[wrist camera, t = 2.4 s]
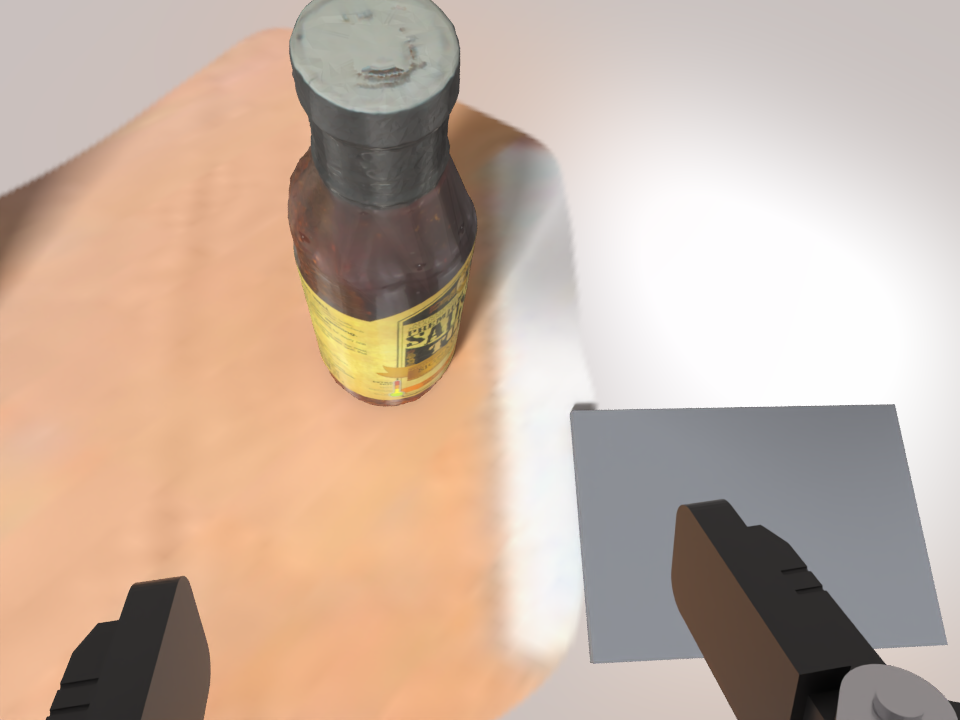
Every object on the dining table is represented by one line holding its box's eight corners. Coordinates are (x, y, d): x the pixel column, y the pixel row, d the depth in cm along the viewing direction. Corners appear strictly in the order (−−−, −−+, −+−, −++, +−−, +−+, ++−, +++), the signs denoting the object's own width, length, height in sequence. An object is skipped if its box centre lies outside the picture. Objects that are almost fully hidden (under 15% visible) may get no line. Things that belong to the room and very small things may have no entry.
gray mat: (590, 662, 32) (593, 663, 32) (569, 413, 36) (572, 410, 35) (938, 644, 34) (947, 644, 33) (887, 407, 37) (894, 404, 37)
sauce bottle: (429, 429, 35) (453, 220, 16) (301, 386, 35) (180, 127, 16) (473, 306, 37) (540, -4, 18) (353, 265, 37) (298, -85, 18)
